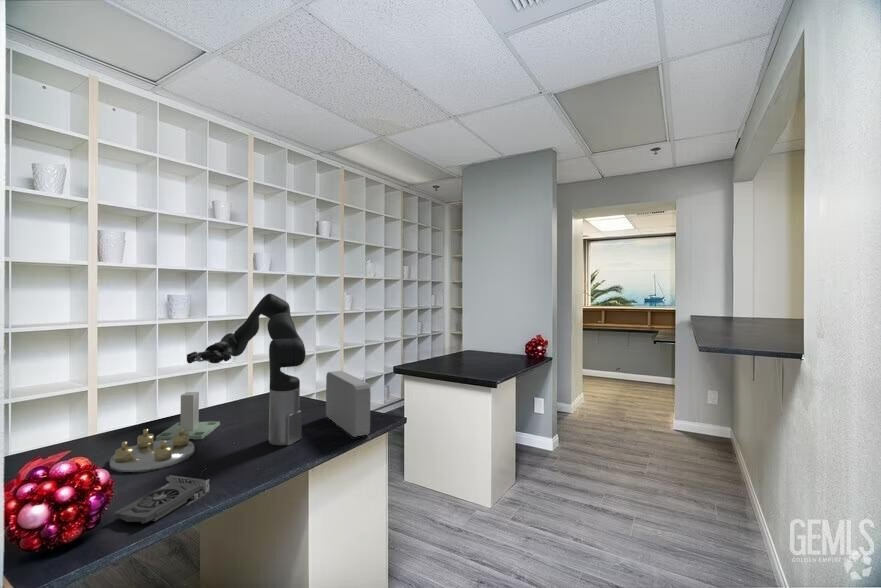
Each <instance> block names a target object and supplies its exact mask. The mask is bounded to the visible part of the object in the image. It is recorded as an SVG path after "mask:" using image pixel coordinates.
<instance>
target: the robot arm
mask: <svg viewBox="0 0 881 588" xmlns="http://www.w3.org/2000/svg"><path fill="white" fill-rule="evenodd" d="M260 315H262V316H264V317H266V318H268V320H267V321H268V322H267V331H268V336H269V337H270V339H272V340H271V341H270V344H269V348H268V358H269V399H268V400H269V402H268V405H269V406H268V407H269V410H268V411H269V412H268V443H269V444H270V445H272V446H290V445H292V444H294V442H295V443H296V441H297V442H298V440H299V441H301V440H302V438H303V437H302V436H303V435H302V431H303V430H302V429H303V428H302V426H303V423H302V421H303V419H302V418H303V411H302V410H300V398H301V397H300V390H301V389H300V388H301V384H300V382H301V381H300V379H299V378H298V377H297V376H293V375H291V374H290V375H289V374H286V373H285V372H283V371H281V368H291V367H293V368H294V367H300V366H301V365H303V363H305V359H306V347H305V343H304V341H303V339H302V338H301V336H300V335H299V334H298V332H297V329H296V326H295V323H294V320H293V319H292V315H291V307H290V304H289V303H288V302H287V301H286V300H284V299H283V298H280V297H278V296H277V295H276V294H272V293H267V294H265V295H264V296H263V297H262V298H261V299H260V301H259V302H258V303H257V305H256V306H255V307H254V308H253V310H252V311H251V313H250V314H249V315H248V317H247V318H246V320H245V321H244V322H243V323H242V324H241V325H240V326H239V327H238V328H237V329H236V330H235V331H234V333H232V332H230V333H227V334H225V335H224V336H223V337H222V338H221V339H220V341H218V342H215V343H212V344H211V345H208V346H207V347H206V348H205V350H204V351H199V352H198V351H193V352H190V353H187V354H186V363H187V364H192V363H195V362H199V363H200V362H201V363H202V362H208V363H210V364H218V363H221V362H223V361H224V362H228V361H230V360H231V359H232V357H238V356H240V355H242V354H243V353H244V351H246V348H247V346H248V343H249V342H250V341H251V340H252V339H253V338H254V337H255V336H256V335H257V334H258V332H259V331H260ZM300 439H301V440H300Z"/></svg>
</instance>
